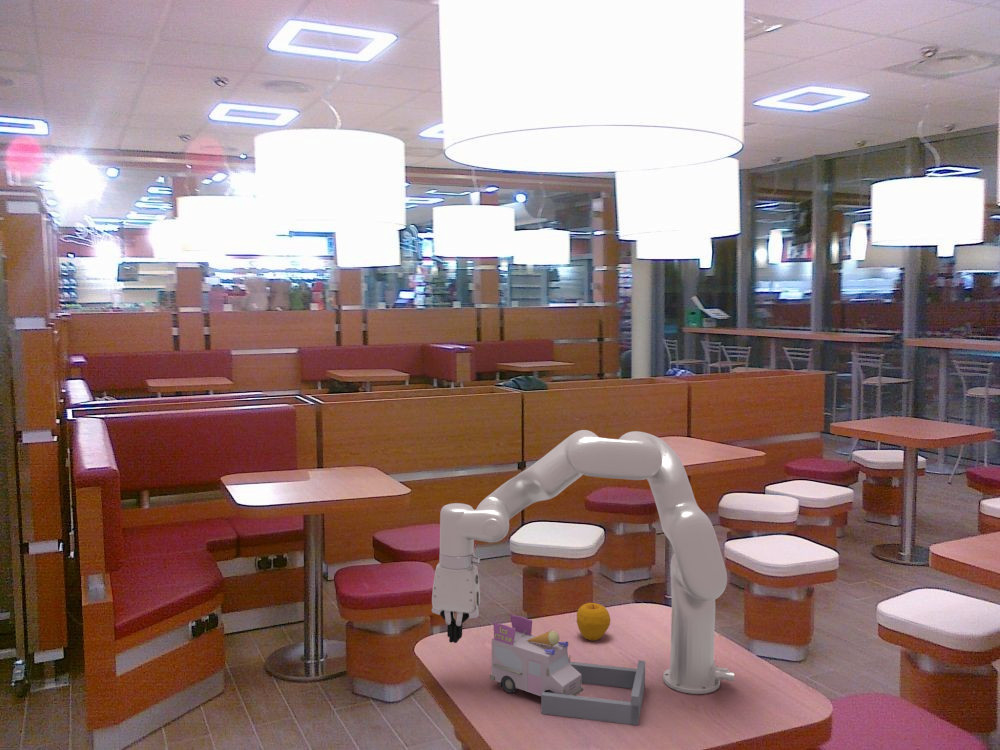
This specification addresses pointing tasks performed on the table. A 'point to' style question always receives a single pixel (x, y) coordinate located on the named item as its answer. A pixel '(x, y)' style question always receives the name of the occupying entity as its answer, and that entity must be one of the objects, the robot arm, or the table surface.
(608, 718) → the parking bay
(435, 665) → the table surface
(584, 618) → the apple
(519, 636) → the toy vehicle
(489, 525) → the robot arm
